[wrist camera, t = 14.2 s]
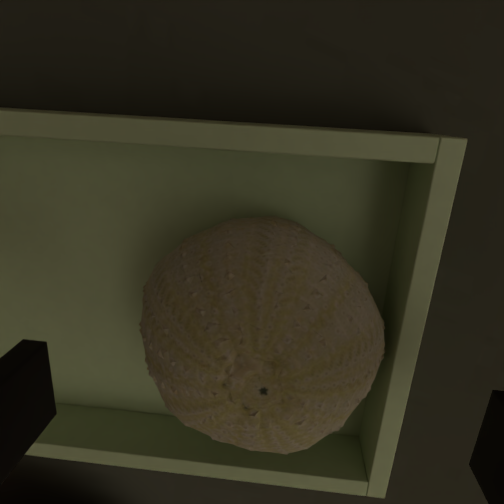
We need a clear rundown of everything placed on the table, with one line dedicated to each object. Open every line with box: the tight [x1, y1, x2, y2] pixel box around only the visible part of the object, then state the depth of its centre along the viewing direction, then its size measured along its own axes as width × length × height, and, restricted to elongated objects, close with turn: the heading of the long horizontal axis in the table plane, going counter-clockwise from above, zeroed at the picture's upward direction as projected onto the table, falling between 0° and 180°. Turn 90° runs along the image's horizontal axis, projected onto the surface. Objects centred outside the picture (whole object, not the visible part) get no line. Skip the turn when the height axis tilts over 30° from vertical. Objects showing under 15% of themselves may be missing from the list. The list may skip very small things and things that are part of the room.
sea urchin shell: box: [139, 215, 385, 455], centre depth 15 cm, size 9×8×8 cm
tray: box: [0, 107, 467, 498], centre depth 16 cm, size 22×15×3 cm
